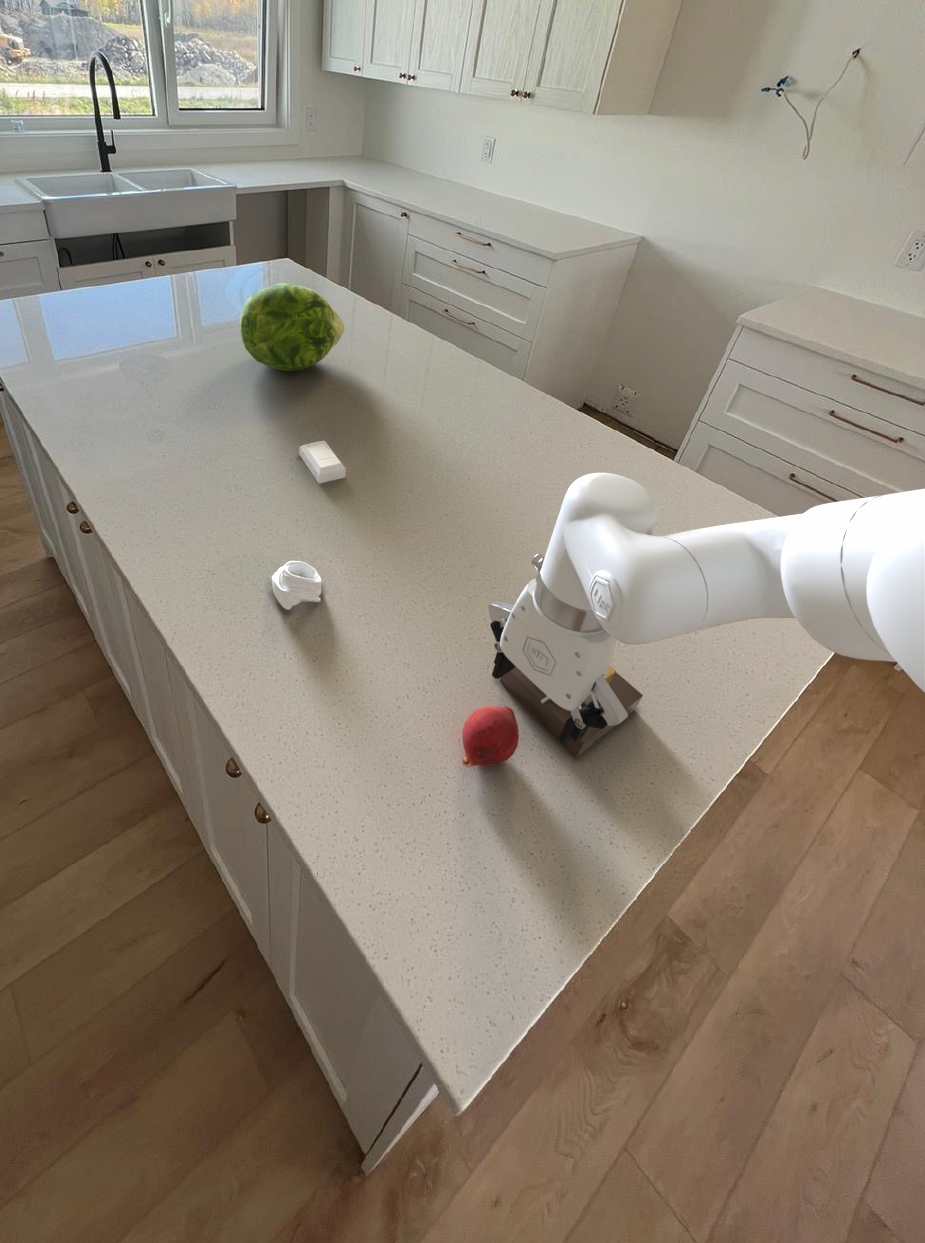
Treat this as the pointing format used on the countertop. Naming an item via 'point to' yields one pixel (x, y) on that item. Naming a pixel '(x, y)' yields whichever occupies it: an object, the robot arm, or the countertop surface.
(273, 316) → the lettuce
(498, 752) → the onion
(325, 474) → the soap bar
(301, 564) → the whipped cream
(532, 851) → the countertop surface
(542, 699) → the tap deck
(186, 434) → the countertop surface
